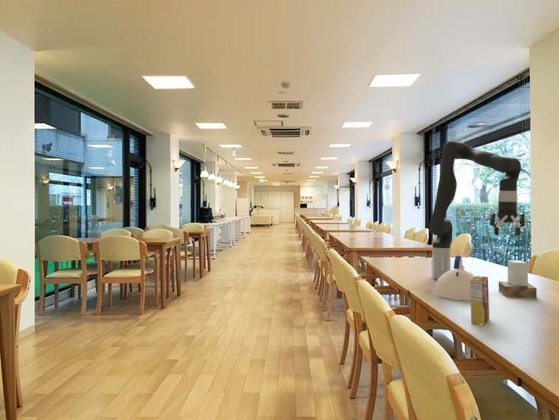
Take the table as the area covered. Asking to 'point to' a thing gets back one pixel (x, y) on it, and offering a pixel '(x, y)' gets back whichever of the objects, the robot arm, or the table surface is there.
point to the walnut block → (517, 290)
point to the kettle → (455, 283)
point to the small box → (517, 273)
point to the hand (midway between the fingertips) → (506, 235)
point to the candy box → (479, 300)
